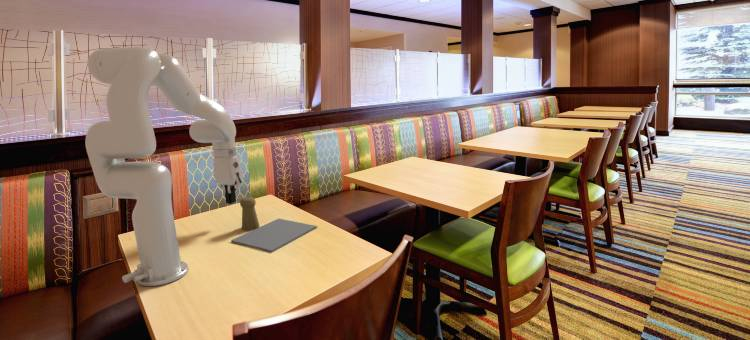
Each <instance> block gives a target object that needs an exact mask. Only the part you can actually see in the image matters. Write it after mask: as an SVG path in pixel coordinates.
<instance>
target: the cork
mask: <svg viewBox="0 0 750 340" xmlns="http://www.w3.org/2000/svg"><path fill="white" fill-rule="evenodd" d="M239 201H240V202H239V204H240V207H241V229H242V231H247V232H250V231H252V230H255V229H257V228H259V227H260V222H259V219H258V215H257V212H256V208H255V207H256V203H257V202H256V199H255V198H254V197H252V196H246V197H243V198H241V199H240V200H239Z"/></svg>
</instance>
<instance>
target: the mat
mask: <svg viewBox="0 0 750 340" xmlns="http://www.w3.org/2000/svg"><path fill="white" fill-rule="evenodd" d="M317 228H318V225H314V224H308V223H303V222H299V221H293V220H289V219H284V218H277V219H275V220H272V221H270V222H268V223H266V224H264V225H261V226H259V228H257V229H255V230H251V231H247V232H246V233H244V234H242V235H239V236H237V237H235V238H233V239H231V240H230V242H231V243H234V244H238V245H240V246H241V245H242V246H244V247H245V246H246V247H249V248H254V249H257V250H261V251H265V252H269V253H274V252H275V251H277V250H279V249H281V248H283V247H285V246H286V245H288V244H291V243H292V242H293V241H295V240H297V239H299V238H301V237H303V236H305V235H306V234H308V233H310V232H312V231H314V230H316V229H317Z"/></svg>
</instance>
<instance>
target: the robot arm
mask: <svg viewBox="0 0 750 340" xmlns="http://www.w3.org/2000/svg"><path fill="white" fill-rule="evenodd" d="M87 69H88V72H89V73H90V74H91V76H92V77H93V78H94V79H95V80H96V81H98V82H100V83H102V84H106V85H110V86H109V88H108V90H107V92H106V93H107V94H106V99H105V102H106V107H107V108H106V109H107V112H108V113H107V114H108V117H109V120H103V121H98V122H96V123H94V124H92V125H91V126H90V127H89V128H88V130H87V131H86V135H85V140H84V141H85V149H86V153H87V156H88V160H89V163H90V167H91V169H92V172H93V176H94V178H95V182H96V184H97V186H98V189H99V191H101V193H102V194H103V195H105V196H106V197H108V198H113V199H131V200H136V203H135V206H134V208H133V210H132V215H131V220H132V226H133V231H134V236H135V241H136V247H137V252H138V253H137V254H138V257H139V263H138V264H137V265H136V269H134V271H132V272H131V273H130V272H128V273H127V274H125V275H123V276H121V279H122V282H123V283H124V284H126V283H129V282H131V281H133V282H134V283H137V284H138V285H141V286H144V287H154V286H155V287H156V286H161V285H165V284H170V283H171V282H172V283H173V282H175V281H177V280H179V279H181V278H182V277H184V276H185V275H186V274H187V273H188V271H189V264H188V263H186V262H185V261H182V260H181V254H180V248H179V241H178V235H177V229H176V224H175V223H176V222H175V218H174V211H173V203H172V189H173V188H172V187H173V185H172V184H173V179H172V173H171V170H170V169H168V167H166V165H163V164H162V163H160V162H155V161H126V159H144V158H148V157H150V156H152V155H153V154H155V151H156V148H157V140H156V136H155V131H154V127H153V123H152V117H151V114H150V109H149V105H148V95H149V90H150V88H151V87H157V88H158V89H159V90H160V91H161V93H162V94H163V96H164V97H165V98H166V99H167V101H168V102H169V103H170V104H171V106H172V107H173V108H174V109H175V110H177V111H178V112H181V113H184V114H187V115H189V116H193V117H198V118H200V119H199V120H196V121H194V122H192V123H191V125H190V126H189V129H188V130H189V131H188V132H189V136H190V138H191V139H192V140H193V141H195V142H197V143H202V144H210V143H211V144H212V152H213V153H212V154H213V174H214V180H215V183H217V186H219V187H220V188H221V189H222V191H223V193H224V197H225V203H226V204H229V205H231V204H234V203H236V202H237V197H236V191H237V189H238V190H239V189H240V188H241V187H242V186H241V184H243V182H244V175H243V170H242V165H241V162H240V158H239V156H238V155H237V148H236V140H235V138H236V136H237V128H236V125H235V123H234V120H233V118H232V117H231V116H230V113H229V112H228V110H226V109H225V108H224V107H223V106H222V105H221V104H220V103H218V102H216V101H215V100H213V99H212V98H211V97H209V96H207V95H205V94H203V93H201V92H200V91H199V90H198V88H197V87H196V86H195V84H194V83H193V80H192V79H191V78H190V77H189V75H188V74H187V72H186V70H185V69H184V67H183V66H182V64H181V63H180V62H179V60H178V59H177V58H176V57H174V56H173V55H170V54H165V53H158V52H157V51H156V50H154V49H152V48H149V47H145V46H123V47H113V48H112V47H111V48H108V47H107V48H100V49H96V50H94V51H92V52H91V53H90V55H89V56H88V58H87Z"/></svg>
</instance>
